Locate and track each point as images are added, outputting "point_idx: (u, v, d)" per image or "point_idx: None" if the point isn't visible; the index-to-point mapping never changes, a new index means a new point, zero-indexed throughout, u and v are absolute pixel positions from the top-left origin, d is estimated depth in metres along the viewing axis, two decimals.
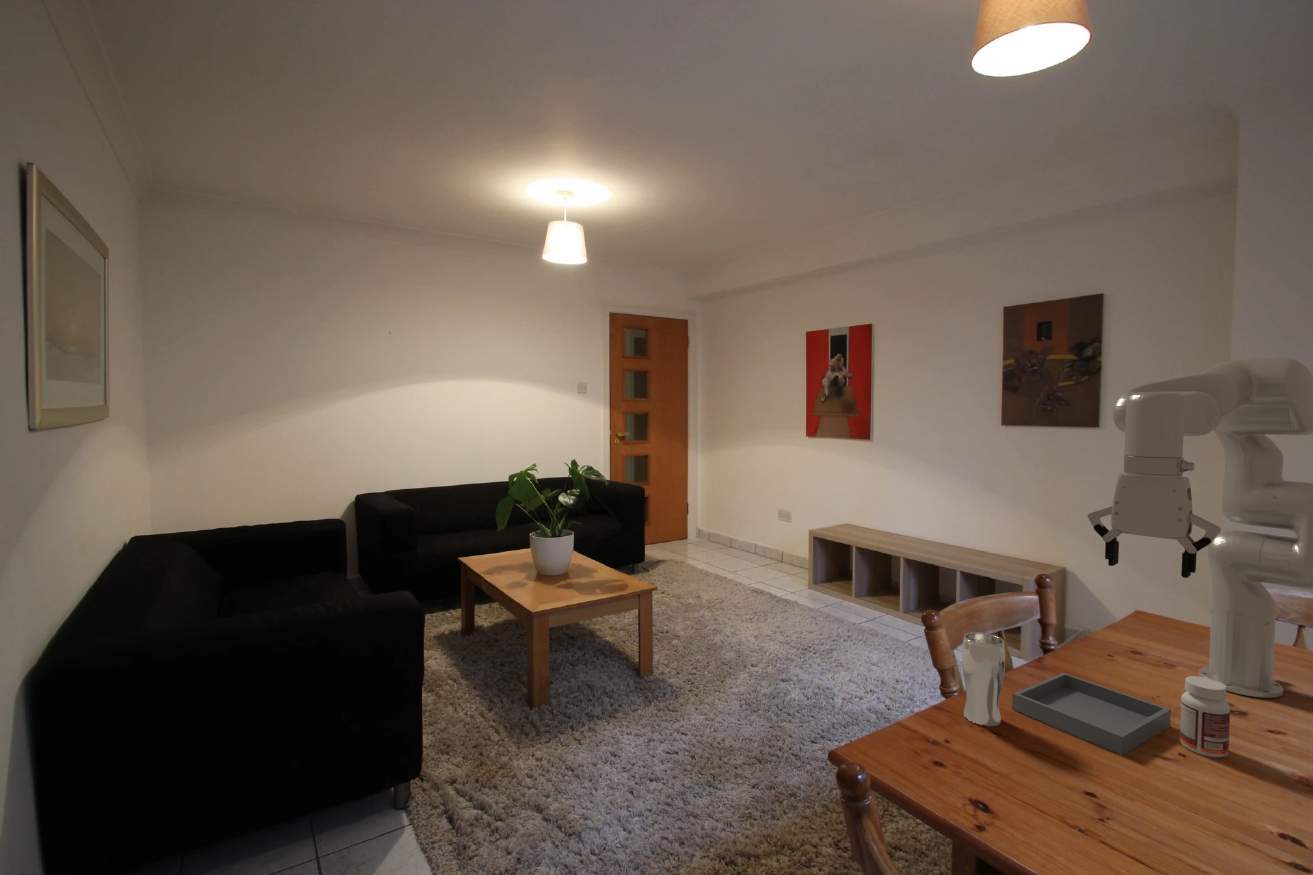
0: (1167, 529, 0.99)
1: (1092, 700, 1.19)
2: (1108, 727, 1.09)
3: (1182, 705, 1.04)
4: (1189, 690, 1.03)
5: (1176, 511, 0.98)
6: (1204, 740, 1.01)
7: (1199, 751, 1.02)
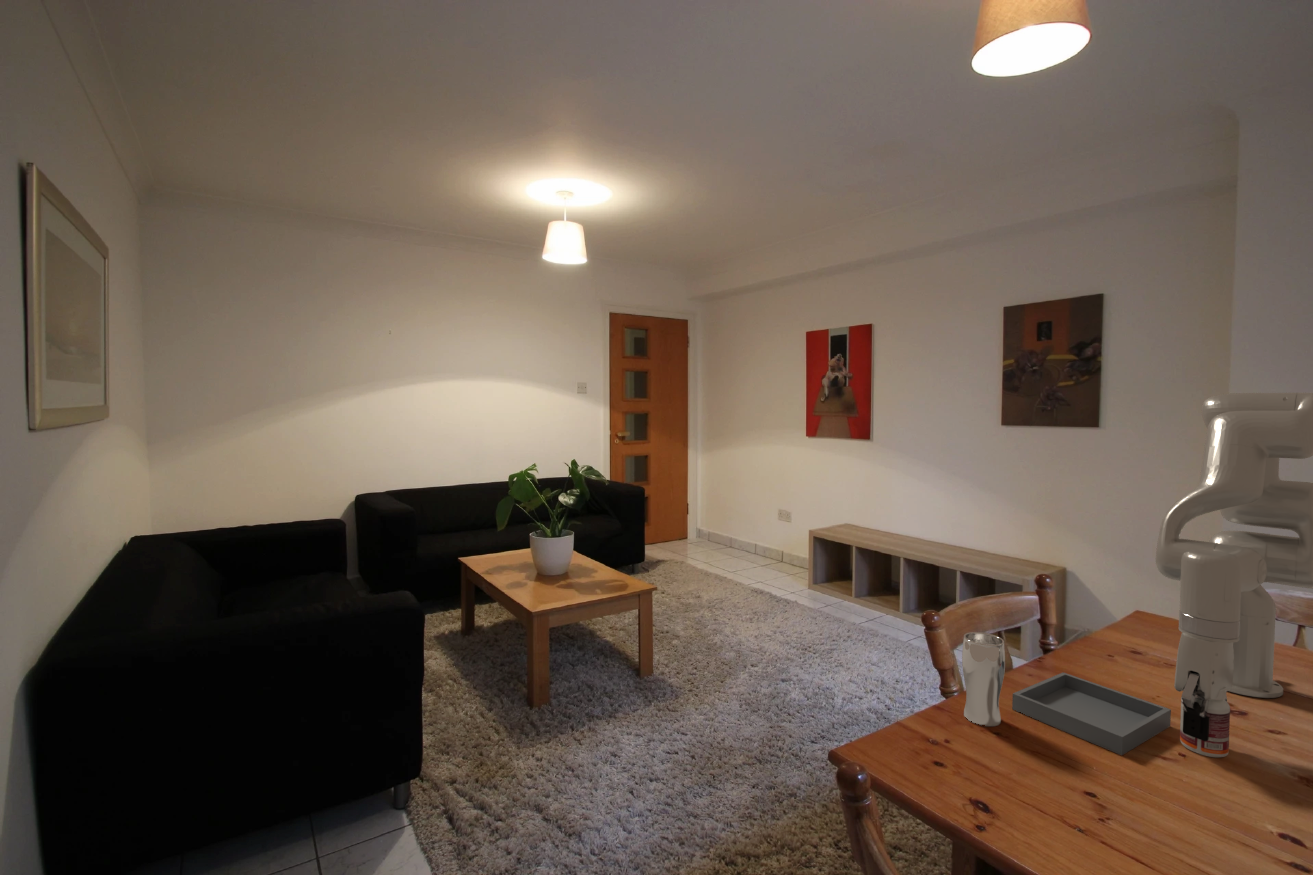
0: (1229, 683, 1.03)
1: (1092, 700, 1.19)
2: (1108, 727, 1.09)
3: (1182, 705, 1.04)
4: None
5: (1232, 664, 1.03)
6: None
7: (1199, 751, 1.02)
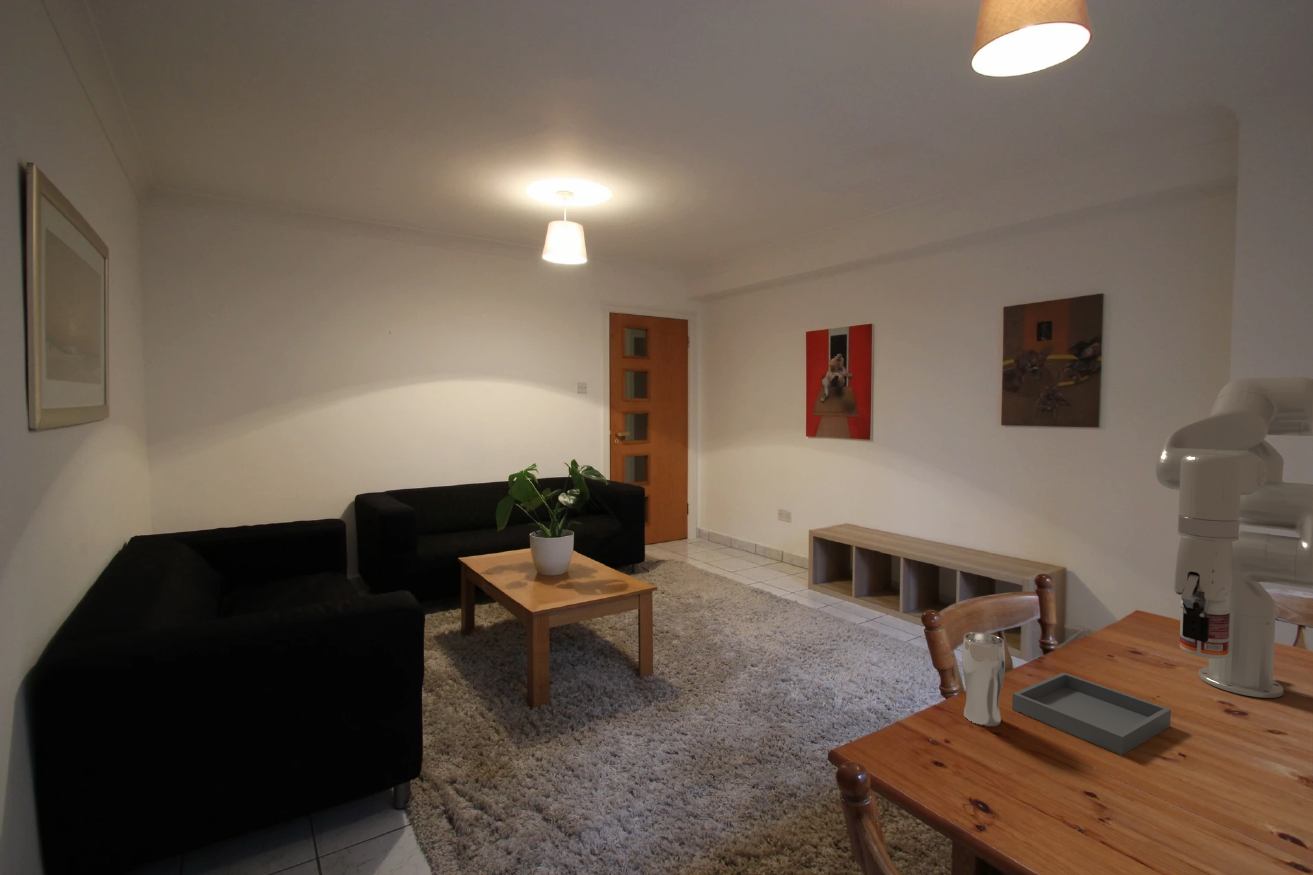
0: (1228, 586, 1.02)
1: (1092, 700, 1.19)
2: (1108, 727, 1.09)
3: (1182, 609, 1.04)
4: None
5: (1232, 567, 1.03)
6: (1204, 642, 1.01)
7: (1199, 653, 1.01)
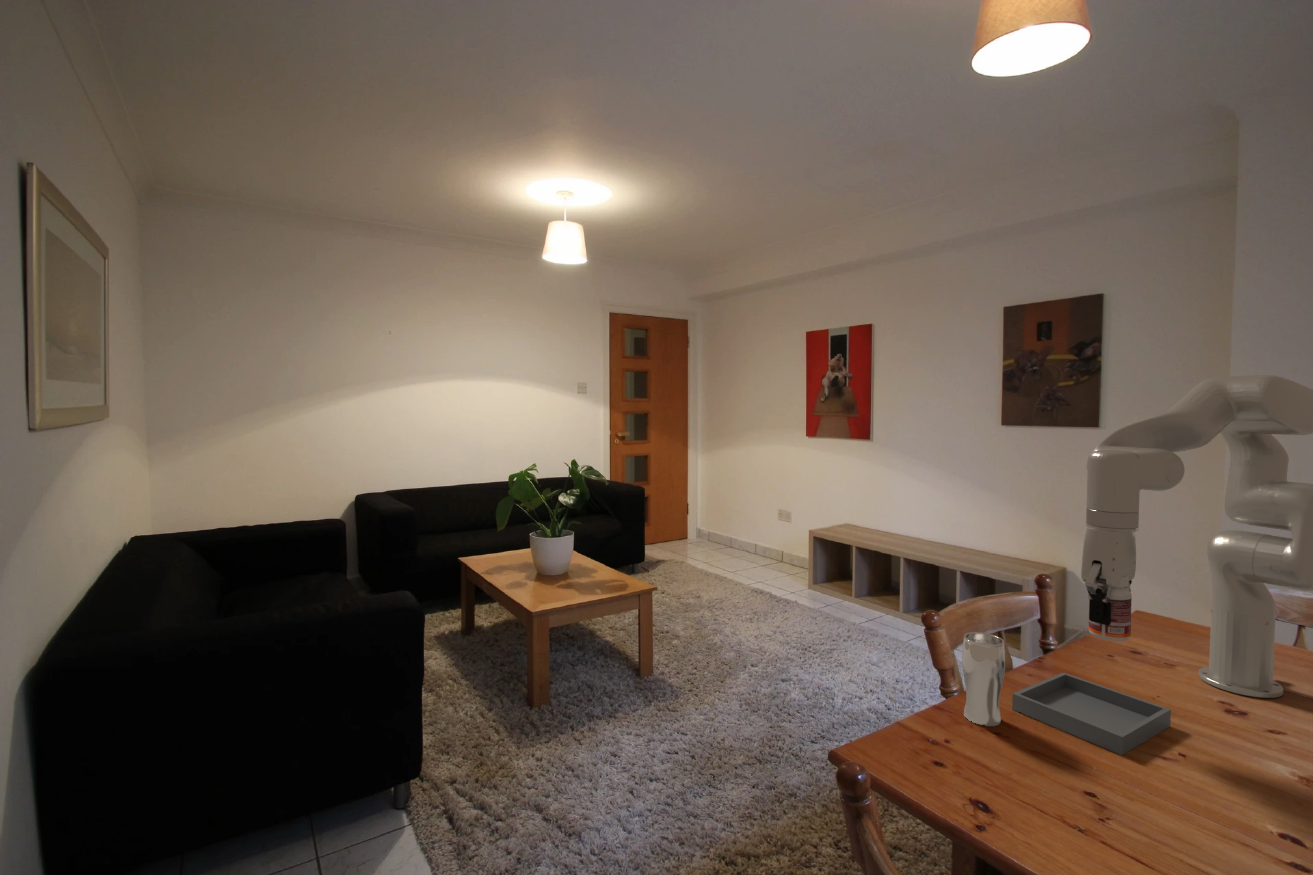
0: (1131, 573, 1.10)
1: (1092, 700, 1.19)
2: (1108, 727, 1.09)
3: None
4: None
5: (1134, 556, 1.10)
6: (1107, 625, 1.09)
7: (1103, 636, 1.09)
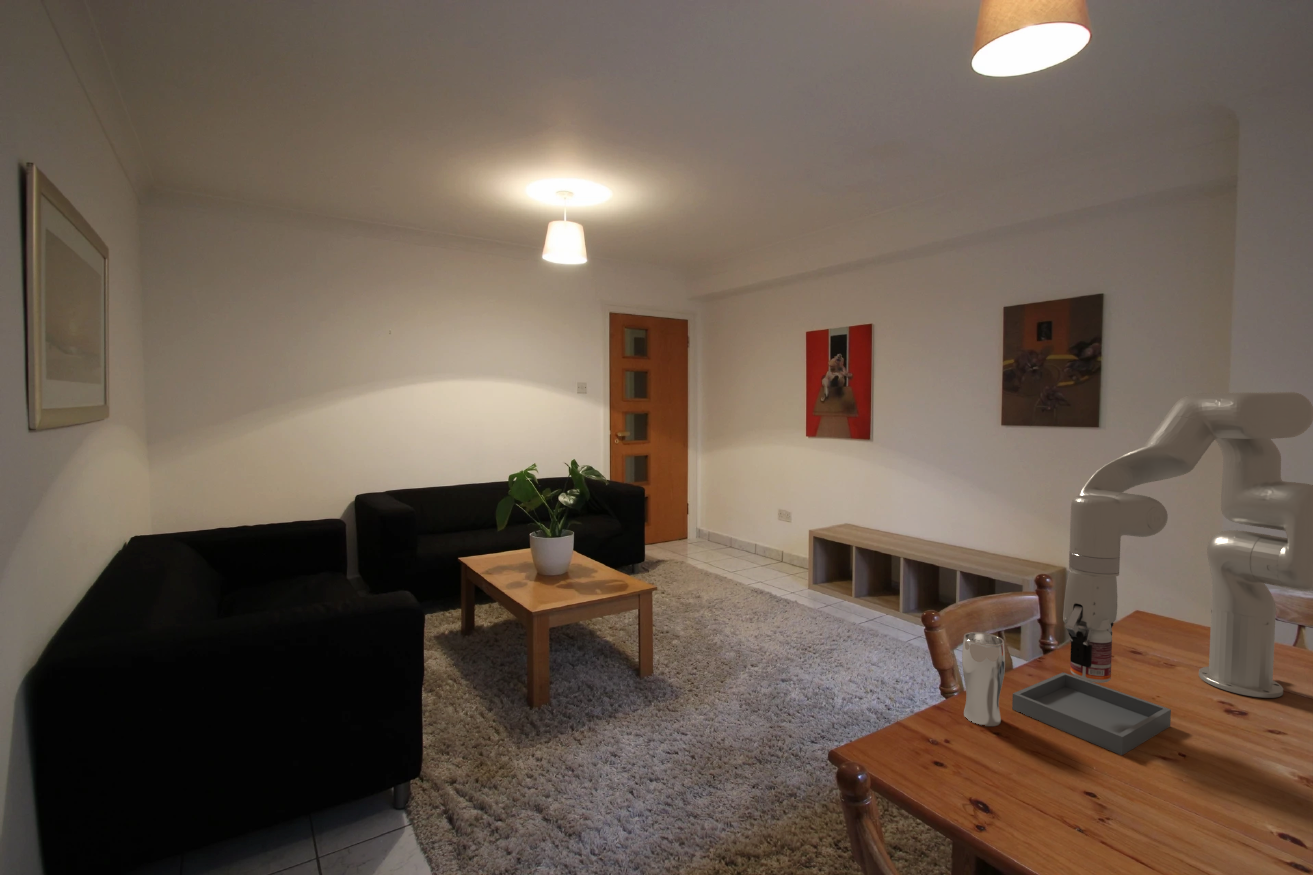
0: (1112, 616, 1.13)
1: (1092, 700, 1.19)
2: (1108, 727, 1.09)
3: None
4: None
5: (1116, 599, 1.13)
6: None
7: (1084, 677, 1.12)
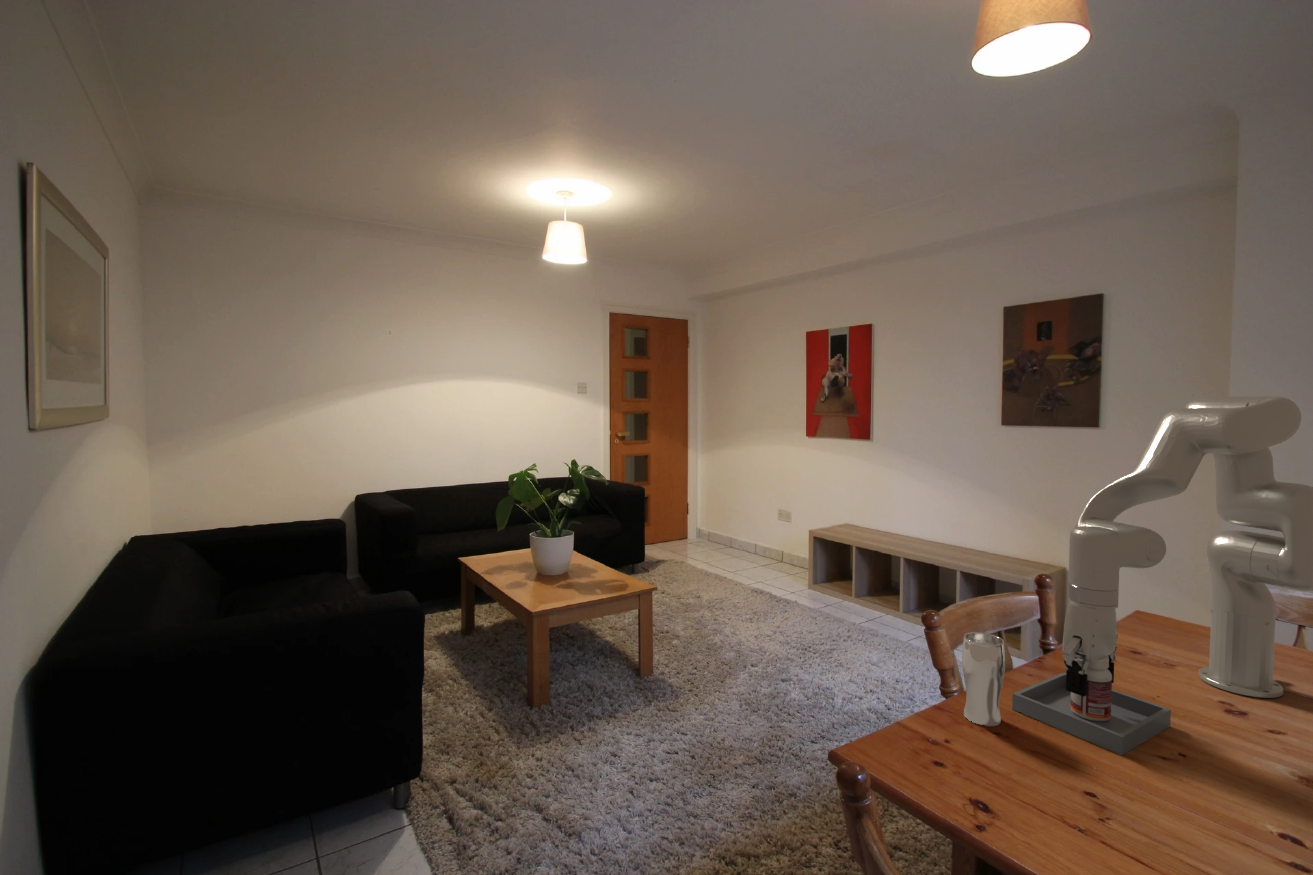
0: (1111, 647, 1.13)
1: None
2: (1108, 727, 1.09)
3: None
4: (1077, 661, 1.14)
5: (1115, 630, 1.13)
6: (1088, 706, 1.12)
7: (1084, 716, 1.12)
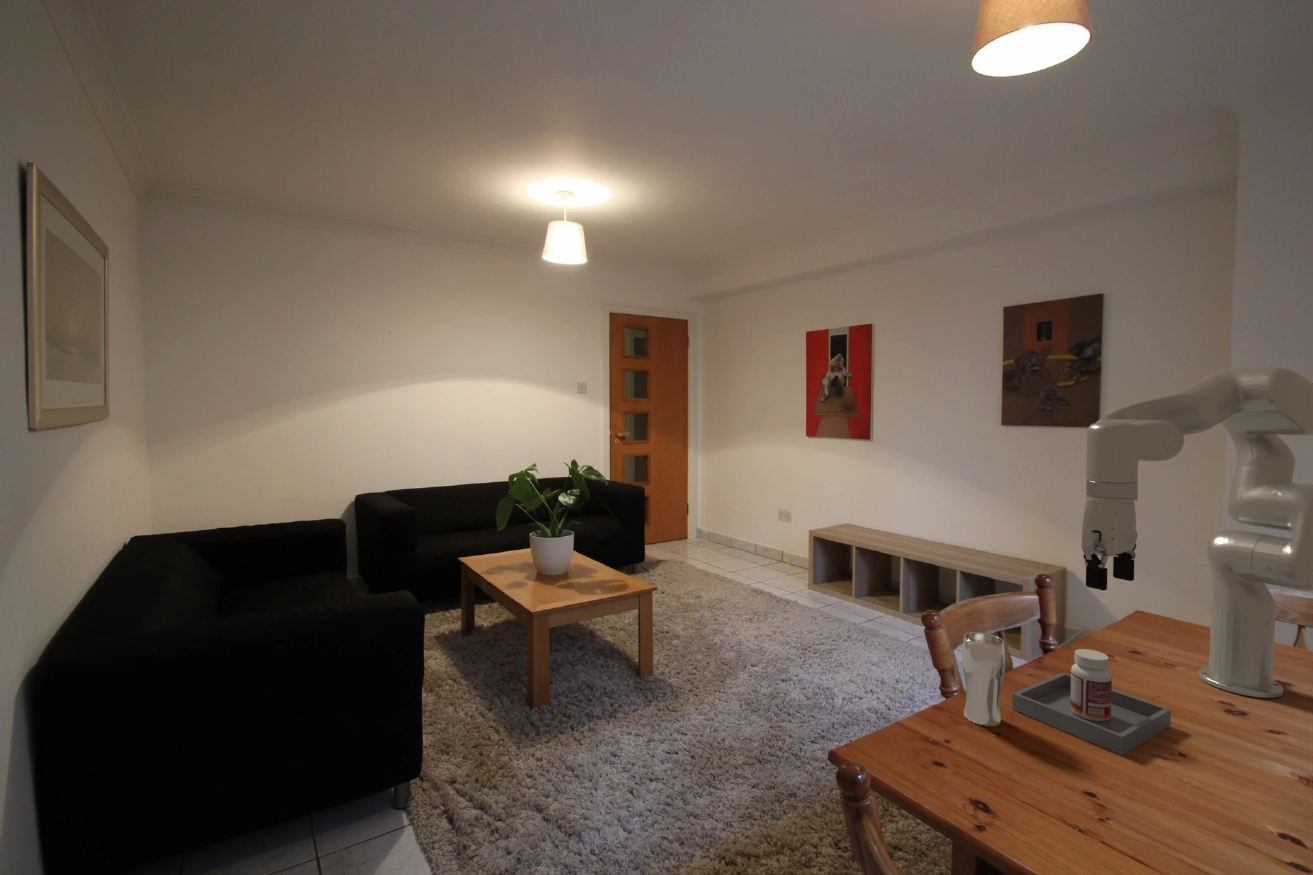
0: (1131, 543, 1.12)
1: None
2: (1108, 727, 1.09)
3: (1071, 675, 1.15)
4: (1076, 661, 1.14)
5: (1134, 526, 1.12)
6: (1088, 706, 1.12)
7: (1084, 716, 1.12)
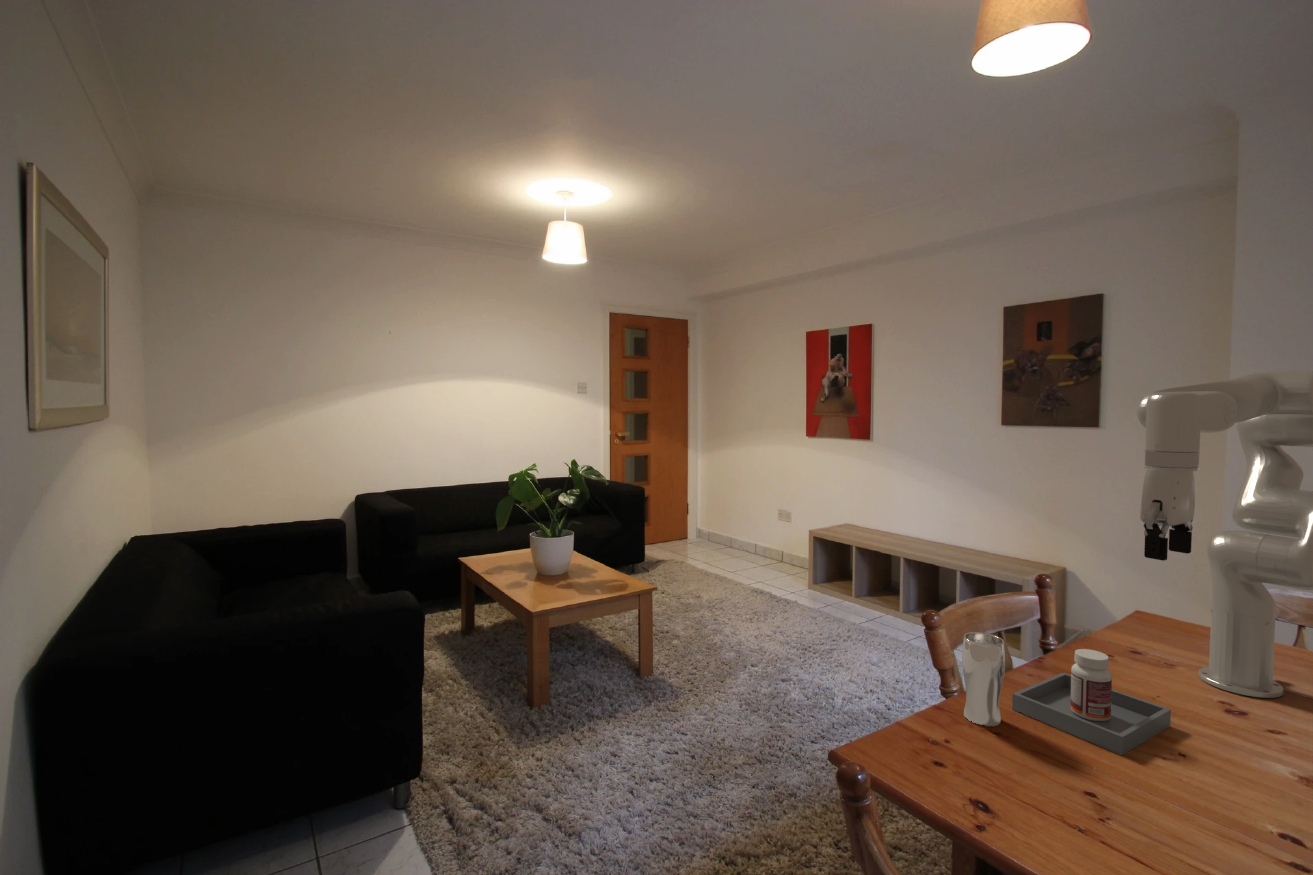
0: (1190, 514, 1.11)
1: None
2: (1108, 727, 1.09)
3: (1071, 675, 1.15)
4: (1077, 661, 1.14)
5: (1194, 497, 1.11)
6: (1088, 706, 1.12)
7: (1084, 716, 1.12)
